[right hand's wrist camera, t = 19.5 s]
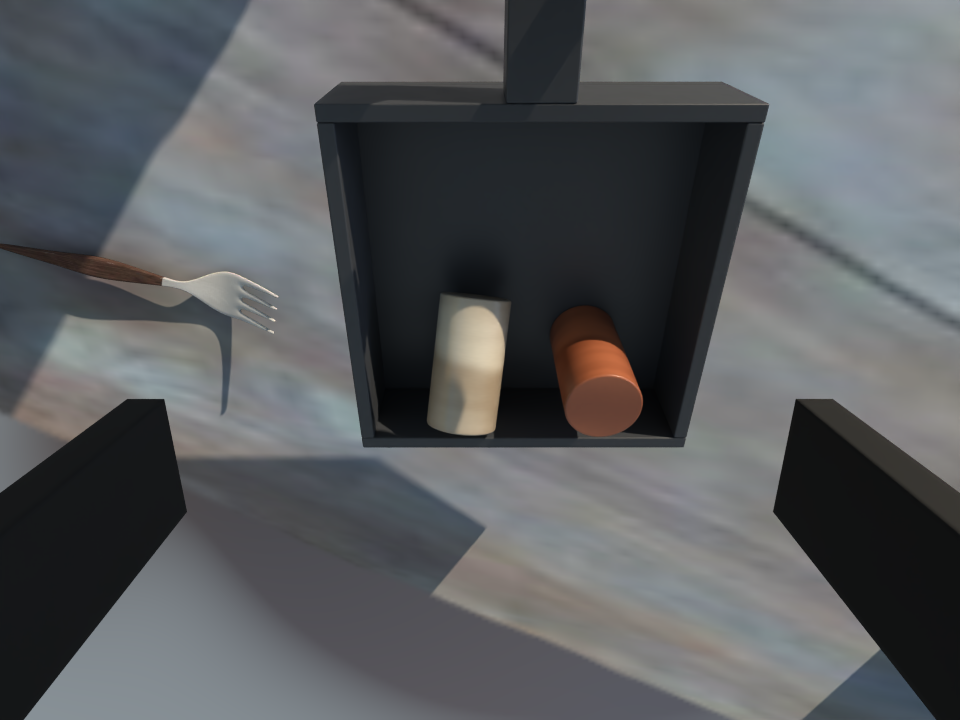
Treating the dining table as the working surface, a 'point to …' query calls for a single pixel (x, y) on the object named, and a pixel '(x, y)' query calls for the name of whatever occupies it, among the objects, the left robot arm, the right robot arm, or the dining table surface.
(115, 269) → the fork
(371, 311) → the tray
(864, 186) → the dining table surface
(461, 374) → the cream peg
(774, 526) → the dining table surface
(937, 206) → the dining table surface
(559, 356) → the terracotta peg
